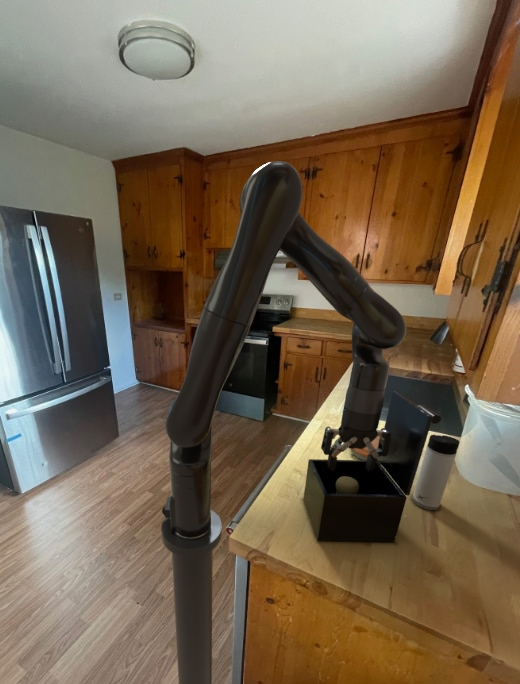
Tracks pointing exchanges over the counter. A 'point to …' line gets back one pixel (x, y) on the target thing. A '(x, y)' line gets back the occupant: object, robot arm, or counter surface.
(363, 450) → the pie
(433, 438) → the travel mug
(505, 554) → the counter surface
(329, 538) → the black open box
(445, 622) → the counter surface
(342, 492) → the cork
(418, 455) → the lid
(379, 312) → the robot arm
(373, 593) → the counter surface
